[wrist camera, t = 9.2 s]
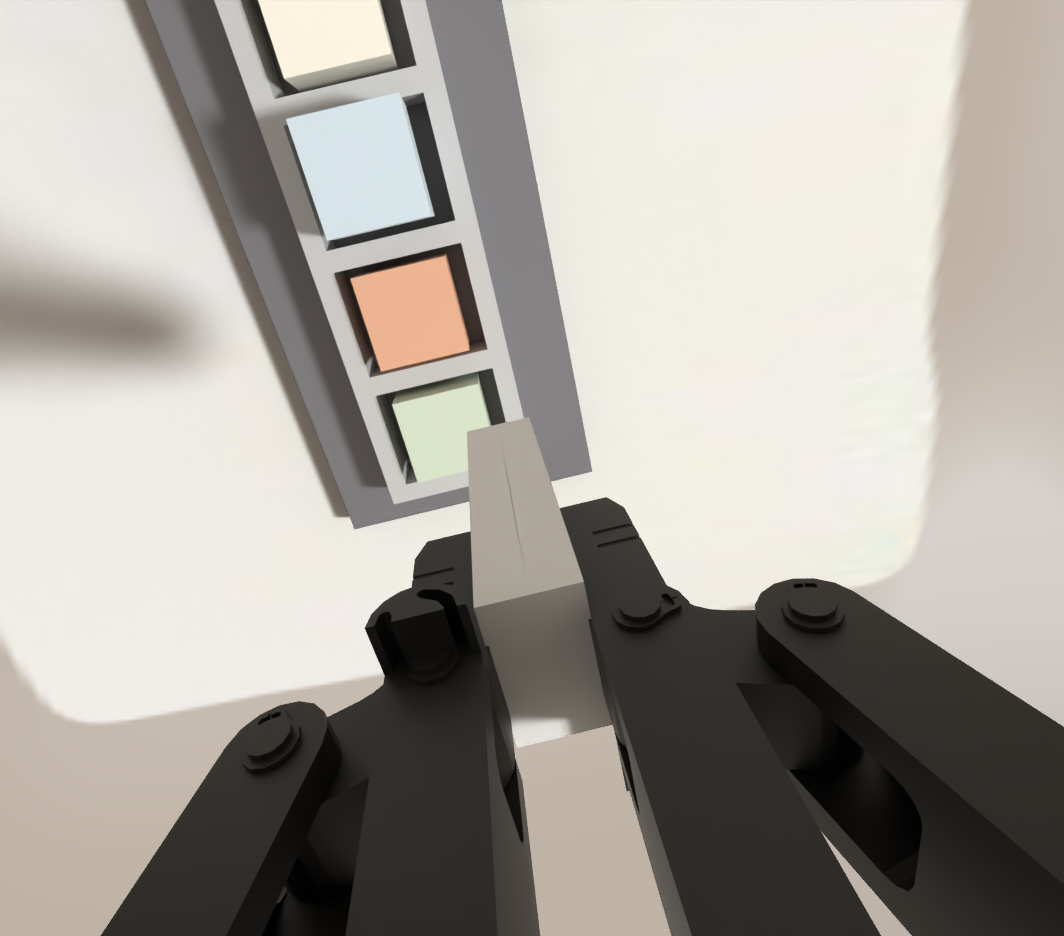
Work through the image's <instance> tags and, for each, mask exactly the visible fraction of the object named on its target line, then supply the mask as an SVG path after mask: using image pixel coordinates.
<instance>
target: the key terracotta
mask: <svg viewBox="0 0 1064 936" xmlns="http://www.w3.org/2000/svg"><path fill="white" fill-rule="evenodd" d="M351 282H352V285H353V288H354V291H355V295H356V298H357V301H358V304H359V307H360V310H361V313H362V316H363V319H364V322H365V325H366V328H367V331H368V334H369V337H370V340H371V343H372V346H373V349H374V352H375V355H376V358H377V361H378V364H379V367H380V370H381V371H386V370H390V369H394V368H398V367H402V366H406V365H410V364H415V363H419V362H423V361H427V360H431V359H435V358H440V357H444V356H448V355H452V354H456V353H460V352H464V351H469V337H468V334H467V330H466V326H465V322H464V318H463V314H462V311H461V307H460V303H459V299H458V295H457V291H456V288H455V284H454V280H453V276H452V272H451V269H450V265H449V261H448V257H447V253H445V254H441V255H437V256H433V257H428V258H424V259H420V260H416V261H412V262H407V263H403V264H399V265H395V266H391V267H387V268H382V269H378V270H374V271H370V272H366V273H362V274H359V275H357V276H355V277H353V278H351Z"/></svg>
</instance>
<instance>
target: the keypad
mask: <svg viewBox="0 0 1064 936" xmlns="http://www.w3.org/2000/svg"><path fill="white" fill-rule="evenodd" d="M145 1H146V4H147V6H148V9H149V11H150V14H151V16H152V19H153V21H154V24H155V26H156V29H157V31H158V34H159V37H160V39H161V42H162V44H163V47H164V49H165V52H166V54H167V57H168V59H169V62H170V64H171V67H172V69H173V72H174V74H175V77H176V79H177V82H178V85H179V87H180V90H181V92H182V95H183V97H184V100H185V102H186V105H187V107H188V110H189V112H190V115H191V117H192V120H193V122H194V125H195V127H196V130H197V132H198V135H199V138H200V140H201V143H202V145H203V148H204V150H205V153H206V155H207V158H208V160H209V163H210V165H211V168H212V170H213V173H214V175H215V178H216V180H217V183H218V186H219V188H220V191H221V193H222V196H223V198H224V201H225V203H226V206H227V208H228V211H229V213H230V216H231V218H232V221H233V223H234V226H235V228H236V231H237V234H238V236H239V239H240V241H241V244H242V246H243V249H244V251H245V254H246V256H247V259H248V261H249V264H250V266H251V269H252V271H253V274H254V276H255V279H256V281H257V284H258V287H259V289H260V292H261V294H262V297H263V299H264V302H265V304H266V307H267V309H268V312H269V314H270V317H271V319H272V322H273V324H274V327H275V329H276V332H277V335H278V337H279V340H280V342H281V345H282V347H283V350H284V352H285V355H286V357H287V360H288V362H289V365H290V367H291V370H292V372H293V375H294V377H295V380H296V383H297V385H298V388H299V390H300V393H301V395H302V398H303V400H304V403H305V405H306V408H307V410H308V413H309V415H310V418H311V420H312V423H313V425H314V428H315V430H316V433H317V436H318V438H319V441H320V443H321V446H322V448H323V451H324V453H325V456H326V458H327V461H328V463H329V466H330V468H331V471H332V473H333V476H334V478H335V481H336V484H337V486H338V489H339V491H340V494H341V496H342V499H343V501H344V504H345V506H346V509H347V511H348V514H349V516H350V519H351V521H352V524H353V526H354V529H358V528H362V527H366V526H370V525H374V524H378V523H382V522H387V521H391V520H395V519H399V518H403V517H407V516H411V515H415V514H419V513H423V512H428V511H432V510H436V509H440V508H444V507H448V506H452V505H456V504H460V503H465V502H469V475H468V471H464V472H460V473H456V474H451V475H447V476H443V477H439V478H435V479H431V480H427V481H423V482H417V479H416V476H415V473H414V469H413V466H412V463H411V460H410V457H409V454H408V451H407V448H406V445H405V442H404V439H403V436H402V433H401V430H400V427H399V424H398V421H397V418H396V415H395V412H394V409H393V406H392V403H393V401H394V398H395V396H396V393H397V391H399V390H403V389H407V388H411V387H415V386H420V385H424V384H428V383H432V382H436V381H440V380H444V379H449V378H453V377H457V376H461V375H465V374H469V373H473V372H478V376H479V379H480V383H481V387H482V391H483V395H484V398H485V402H486V406H487V410H488V414H489V418H490V421H491V425H492V426H493V425H497V424H501V423H506V422H510V421H514V420H519V419H523V418H527V417H529V418H530V421H531V424H532V427H533V430H534V433H535V436H536V439H537V442H538V445H539V448H540V451H541V454H542V457H543V460H544V463H545V466H546V469H547V472H548V475H549V478H550V481H555V480H559V479H563V478H567V477H571V476H575V475H580V474H584V473H588V472H592V468H591V463H590V457H589V452H588V447H587V442H586V437H585V432H584V426H583V421H582V416H581V411H580V406H579V400H578V395H577V390H576V385H575V380H574V374H573V369H572V364H571V359H570V354H569V348H568V343H567V338H566V333H565V328H564V322H563V317H562V312H561V307H560V302H559V296H558V291H557V286H556V281H555V276H554V270H553V265H552V260H551V255H550V250H549V244H548V239H547V234H546V229H545V224H544V218H543V213H542V208H541V203H540V198H539V192H538V187H537V182H536V177H535V172H534V166H533V161H532V156H531V151H530V146H529V140H528V135H527V130H526V125H525V120H524V114H523V109H522V104H521V99H520V94H519V88H518V83H517V78H516V73H515V68H514V62H513V57H512V52H511V47H510V42H509V36H508V31H507V26H506V21H505V16H504V10H503V5H502V0H380V1H381V5H382V9H383V12H384V16H385V20H386V24H387V28H388V32H389V35H390V39H391V43H392V47H393V51H394V54H395V58H396V62H397V66H398V70H394V71H390V72H386V73H382V74H377V75H373V76H369V77H365V78H360V79H356V80H352V81H348V82H343V83H339V84H335V85H331V86H326V87H322V88H318V89H314V90H310V91H305V92H300V91H299V90H298V89H296V88H295V87H294V86H293V85H291V84H290V83H289V82H287V81H286V80H285V79H284V77H283V74H282V71H281V68H280V65H279V62H278V59H277V56H276V53H275V50H274V47H273V44H272V41H271V38H270V35H269V32H268V29H267V26H266V23H265V20H264V17H263V14H262V11H261V8H260V5H259V2H258V0H145ZM398 92H399V94H400V95H401V97H402V99H403V101H404V103H405V105H406V109H407V112H408V116H409V120H410V124H411V128H412V131H413V135H414V139H415V143H416V147H417V150H418V154H419V158H420V162H421V166H422V169H423V173H424V177H425V181H426V185H427V188H428V192H429V196H430V200H431V204H432V207H433V211H434V215H435V216H434V217H429V218H425V219H421V220H417V221H413V222H408V223H404V224H400V225H396V226H392V227H387V228H383V229H379V230H375V231H371V232H367V233H362V234H358V235H354V236H350V237H346V238H341V239H335V240H328V241H327V239H326V236H325V233H324V230H323V227H322V224H321V221H320V219H319V216H318V213H317V210H316V207H315V204H314V201H313V198H312V195H311V192H310V189H309V186H308V183H307V180H306V177H305V174H304V171H303V168H302V165H301V162H300V159H299V157H298V154H297V151H296V148H295V145H294V142H293V139H292V136H291V133H290V130H289V127H288V124H287V121H286V119H288V118H292V117H297V116H301V115H305V114H309V113H314V112H318V111H322V110H326V109H330V108H335V107H339V106H343V105H347V104H352V103H356V102H360V101H364V100H369V99H373V98H377V97H381V96H385V95H390V94H394V93H398ZM445 253H447V257H448V261H449V265H450V269H451V272H452V276H453V280H454V284H455V288H456V291H457V295H458V299H459V303H460V307H461V311H462V314H463V318H464V322H465V326H466V330H467V334H468V337H469V351H464V352H460V353H456V354H452V355H448V356H444V357H440V358H435V359H431V360H427V361H423V362H419V363H415V364H410V365H406V366H402V367H398V368H394V369H390V370H386V371H381V370H380V367H379V364H378V361H377V358H376V355H375V352H374V349H373V346H372V343H371V340H370V337H369V334H368V331H367V328H366V325H365V322H364V319H363V316H362V313H361V310H360V307H359V304H358V301H357V298H356V295H355V291H354V288H353V285H352V282H351V278H353V277H355V276H357V275H359V274H362V273H366V272H370V271H374V270H378V269H382V268H387V267H391V266H395V265H399V264H403V263H407V262H412V261H416V260H420V259H424V258H428V257H433V256H437V255H441V254H445Z"/></svg>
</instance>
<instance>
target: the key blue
mask: <svg viewBox="0 0 1064 936" xmlns="http://www.w3.org/2000/svg"><path fill="white" fill-rule="evenodd" d="M286 121H287V124H288V127H289V130H290V133H291V136H292V139H293V142H294V145H295V148H296V151H297V154H298V157H299V159H300V162H301V165H302V168H303V171H304V174H305V177H306V180H307V183H308V186H309V189H310V192H311V195H312V198H313V201H314V204H315V207H316V210H317V213H318V216H319V219H320V221H321V224H322V227H323V230H324V233H325V236H326V239H327V241H328V240H335V239H341V238H346V237H350V236H354V235H358V234H362V233H367V232H371V231H375V230H379V229H383V228H387V227H392V226H396V225H400V224H404V223H408V222H413V221H417V220H421V219H425V218H429V217H434V216H435V215H434V211H433V207H432V204H431V200H430V196H429V192H428V188H427V185H426V181H425V177H424V173H423V169H422V166H421V162H420V158H419V154H418V150H417V147H416V143H415V139H414V135H413V131H412V128H411V124H410V120H409V116H408V112H407V109H406V105H405V103H404V101H403V99H402V97H401V95H400V94H399V92H398V93H394V94H390V95H385V96H381V97H377V98H373V99H369V100H364V101H360V102H356V103H352V104H347V105H343V106H339V107H335V108H330V109H326V110H322V111H318V112H314V113H309V114H305V115H301V116H297V117H292V118H288V119H286Z"/></svg>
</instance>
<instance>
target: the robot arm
mask: <svg viewBox="0 0 1064 936" xmlns="http://www.w3.org/2000/svg"><path fill="white" fill-rule="evenodd" d="M467 449H468V475H469V501H470V527H471V531H470V532H466V533H462V534H458V535H453V536H449V537H445V538H441V539H437V540H432V541H428V542H427V543H426V545H425V546H424V547H423V549H422V550H421V552H420V553H419V554H418V556H417V557H416V559H415V564H414V573H413V579H414V580H413V581H412V588H409V589H406V590H404V591H401V592H399V593H397V594H396V595H394V596H393V597H391V598H389V599H388V600H386V601H384V602H383V603H382V604H381V605H380V606H379V607H378V608H377V609H376V610H375V611H374V612H373V613H372V614H371V616H370V618H369V620H368V623H367V625H366V627H365V630H366V632H367V635H368V637H369V639H370V642H371V644H372V647H373V649H374V651H375V654H376V656H377V658H378V661H379V663H380V665H381V668H382V670H383V673H384V675H385V677H384V684H383V685H382V686H381V687H380V688H379V689H377V690H376V691H375V692H374V693H372V694H371V695H369V696H367V697H366V698H364V699H363V700H361V701H359V702H357V703H355V704H353V705H351V706H349V707H347V708H345V709H343V710H341V711H339V712H337V713H335V714H333V715H331V716H329V717H327V716H326V714H325V712H324V711H323V710H321V709H320V708H319V707H318V706H316V705H315V704H314V703H307V702H300V701H298V702H293V703H289V704H284V705H280V706H277V707H275V708H273V709H272V710H269V711H267V712H265V713H263V714H261V715H259V716H258V717H257V718H255V719H254V720H253V721H251V722H250V723H249V724H247V725H246V726H245V727H243V728H242V729H241V730H240V731H239V732H238V733H237V735H236V736H235V737H234V738H233V739H232V740H231V742H230V743H229V744H228V745H227V746H226V748H225V749H224V751H223V752H222V754H221V755H220V757H219V758H218V760H217V761H216V763H215V764H214V766H213V767H212V769H211V770H210V772H209V773H208V775H207V776H206V778H205V779H204V781H203V782H202V784H201V785H200V787H199V788H198V790H197V791H196V793H195V794H194V796H193V797H192V799H191V800H190V802H189V803H188V805H187V806H186V808H185V809H184V811H183V813H182V814H181V815H180V817H179V819H178V820H177V822H176V823H175V824H174V826H173V828H172V829H171V830H170V832H169V834H168V835H167V837H166V838H165V840H164V841H163V843H162V844H161V846H160V847H159V849H158V850H157V852H156V853H155V855H154V856H153V858H152V859H151V861H150V862H149V864H148V866H147V867H146V868H145V870H144V871H143V873H142V874H141V876H140V877H139V879H138V880H137V882H136V883H135V885H134V886H133V888H132V889H131V891H130V892H129V894H128V895H127V897H126V898H125V900H124V901H123V903H122V904H121V906H120V908H119V909H118V910H117V912H116V914H115V915H114V916H113V918H112V919H111V921H110V923H109V924H108V926H107V927H106V929H105V930H104V931H103V933H102V935H101V936H540V931H539V922H538V913H537V904H536V897H535V887H534V879H533V870H532V861H531V852H530V844H529V835H528V826H527V817H526V809H525V800H524V791H523V784H522V783H523V782H522V779H521V775H520V772H519V769H518V766H517V763H516V759H515V753H514V743H513V736H514V740H515V743H516V746H517V748H518V747H523V746H527V745H531V744H535V743H539V742H543V741H547V740H551V739H555V738H559V737H564V736H568V735H572V734H576V733H580V732H584V731H588V730H592V729H596V728H600V727H604V726H608V725H613V727H614V731H615V735H616V740H617V745H618V750H619V755H620V760H621V765H622V770H623V775H624V780H625V785H626V790H627V791H630V794H631V797H632V801H633V804H634V808H635V811H636V814H637V818H638V821H639V825H640V828H641V831H642V835H643V839H644V842H645V845H646V849H647V853H648V856H649V859H650V863H651V866H652V870H653V873H654V877H655V880H656V883H657V887H658V890H659V894H660V897H661V901H662V904H663V908H664V911H665V915H666V918H667V922H668V925H669V929H670V932H671V935H672V936H881V935H880V933H879V932H878V930H877V928H876V926H875V925H874V923H873V921H872V920H871V918H870V916H869V914H868V913H867V911H866V909H865V907H864V906H863V904H862V902H861V900H860V899H859V897H858V895H857V893H856V892H855V890H854V888H853V886H852V885H851V883H850V881H849V880H848V878H847V876H846V874H845V872H844V871H843V869H842V867H841V866H840V864H839V862H838V860H837V859H836V857H835V855H834V853H833V852H832V850H831V848H830V846H829V845H828V843H827V841H826V839H825V838H824V836H823V834H824V835H825V836H826V837H827V838H828V840H829V841H830V842H831V843H832V844H833V845H834V847H836V849H837V850H838V851H839V852H840V853H841V855H842V856H843V857H844V858H845V859H846V860H847V861H848V863H849V864H850V865H851V866H852V867H853V868H854V870H855V871H856V872H857V873H858V874H859V875H860V876H861V878H862V879H863V880H864V881H865V882H866V883H867V884H868V886H869V887H870V888H871V889H872V890H873V891H874V892H875V894H876V895H877V896H878V897H879V898H880V899H881V900H882V902H883V903H884V904H885V905H886V906H887V907H888V909H889V910H890V911H891V912H892V913H893V914H894V915H895V916H896V918H897V919H898V920H899V921H900V922H901V924H902V925H903V926H904V927H905V928H906V929H907V931H909V933H910V934H911V935H912V936H1064V727H1063V726H1062V725H1060V724H1058V723H1057V722H1055V721H1054V720H1052V719H1051V718H1049V717H1048V716H1046V715H1044V714H1043V713H1041V712H1040V711H1038V710H1037V709H1035V708H1034V707H1032V706H1030V705H1029V704H1027V703H1026V702H1024V701H1023V700H1021V699H1020V698H1018V697H1016V696H1015V695H1013V694H1012V693H1010V692H1009V691H1007V690H1006V689H1004V688H1003V687H1001V686H999V685H998V684H996V683H995V682H993V681H992V680H990V679H988V678H987V677H985V676H984V675H982V674H981V673H979V672H978V671H976V670H975V669H973V668H972V667H970V666H968V665H967V664H965V663H964V662H962V661H961V660H959V659H957V658H956V657H954V656H953V655H951V654H950V653H948V652H946V651H945V650H944V649H942V648H941V647H939V646H937V645H936V644H934V643H933V642H931V641H930V640H928V639H927V638H925V637H923V636H922V635H920V634H919V633H917V632H916V631H914V630H913V629H911V628H910V627H908V626H906V625H905V624H903V623H902V622H900V621H899V620H897V619H896V618H894V617H892V616H891V615H889V614H888V613H886V612H885V611H883V610H881V609H880V608H879V607H877V606H875V605H874V604H872V603H871V602H869V601H867V600H866V599H864V598H863V597H861V596H860V595H858V594H857V593H855V592H853V591H851V590H849V589H847V588H845V587H843V586H841V585H838V584H836V583H833V582H828V581H823V580H819V579H814V578H813V579H790V580H786V581H783V582H779V583H775V584H773V585H772V586H770V587H769V588H767V589H766V590H765V591H763V592H762V593H761V594H760V596H759V598H758V600H757V602H756V604H755V610H713V609H706V608H702V607H698V606H694V605H692V604H690V603H689V601H688V600H687V599H686V598H685V597H684V596H683V595H682V594H681V593H680V592H679V591H677V590H675V589H673V588H671V587H669V586H667V585H666V583H665V582H664V580H663V578H662V576H661V574H660V572H659V571H658V569H657V567H656V565H655V563H654V561H653V560H652V558H651V556H650V554H649V552H648V550H647V549H646V547H645V545H644V543H643V541H642V540H641V538H640V537H639V534H638V532H637V530H636V529H635V527H634V526H633V524H632V521H631V519H630V518H629V516H628V514H627V512H626V510H625V508H624V507H622V506H621V505H619V504H617V503H615V502H614V501H612V500H610V499H609V498H607V497H606V498H601V499H597V500H593V501H589V502H584V503H580V504H576V505H572V506H568V507H563V508H559V505H558V502H557V499H556V496H555V493H554V490H553V487H552V484H551V481H550V478H549V475H548V472H547V469H546V466H545V463H544V460H543V457H542V454H541V451H540V448H539V445H538V442H537V439H536V436H535V433H534V430H533V427H532V424H531V421H530V418H529V417H527V418H523V419H519V420H514V421H510V422H506V423H501V424H497V425H493V426H489V427H484V428H480V429H476V430H471V431H467ZM512 733H513V734H512ZM820 830H821V831H820ZM821 832H822V833H823V834H822V833H821Z"/></svg>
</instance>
